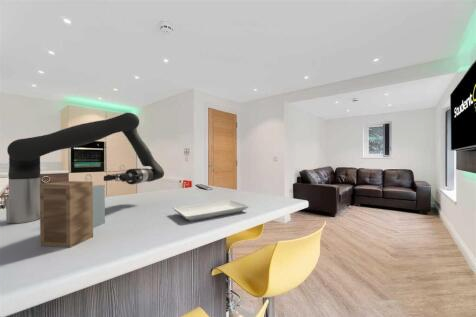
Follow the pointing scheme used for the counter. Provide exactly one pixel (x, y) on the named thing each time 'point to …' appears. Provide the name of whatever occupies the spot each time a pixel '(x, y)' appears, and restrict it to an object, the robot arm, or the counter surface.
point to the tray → (210, 209)
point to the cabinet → (66, 213)
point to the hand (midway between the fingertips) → (113, 178)
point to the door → (98, 205)
